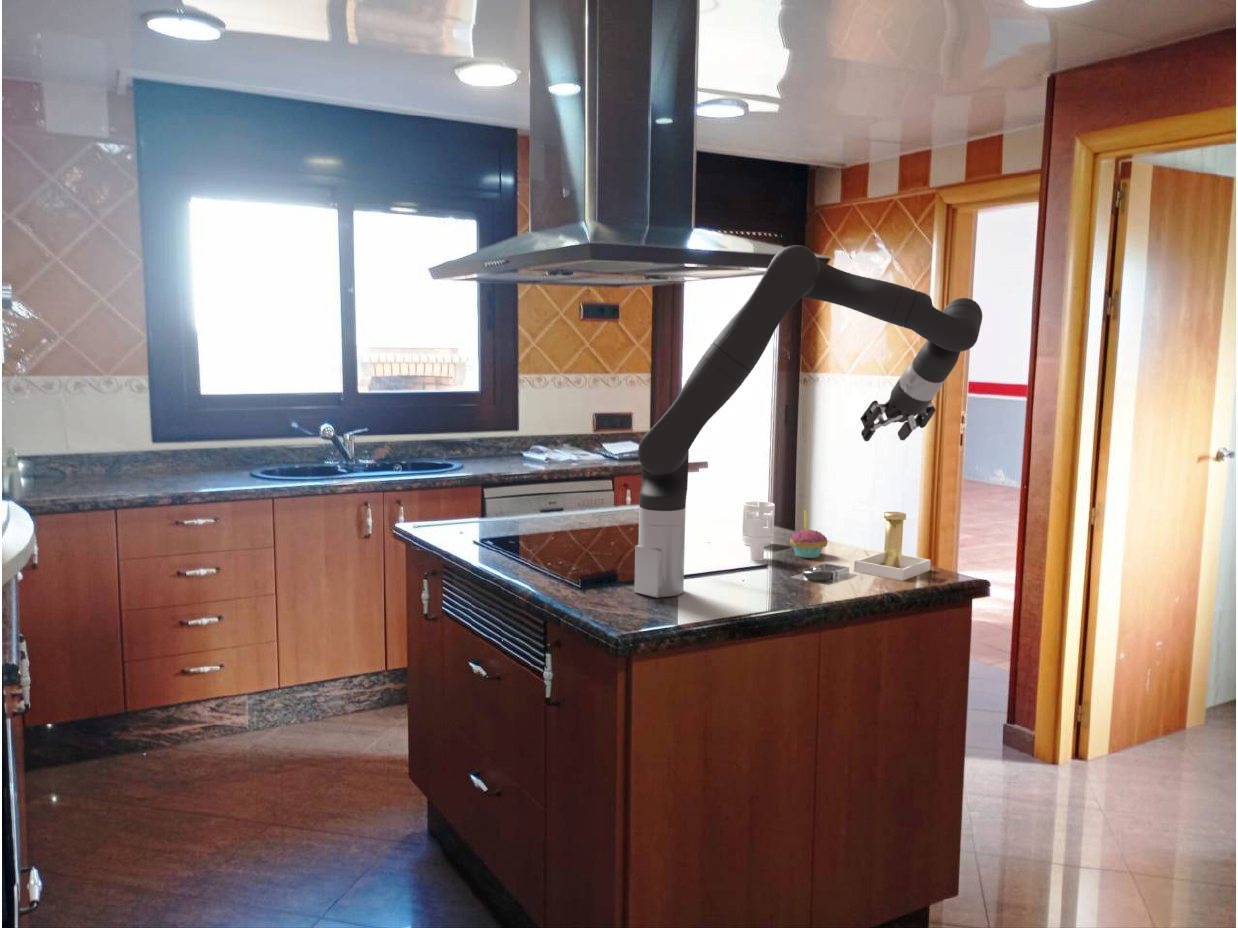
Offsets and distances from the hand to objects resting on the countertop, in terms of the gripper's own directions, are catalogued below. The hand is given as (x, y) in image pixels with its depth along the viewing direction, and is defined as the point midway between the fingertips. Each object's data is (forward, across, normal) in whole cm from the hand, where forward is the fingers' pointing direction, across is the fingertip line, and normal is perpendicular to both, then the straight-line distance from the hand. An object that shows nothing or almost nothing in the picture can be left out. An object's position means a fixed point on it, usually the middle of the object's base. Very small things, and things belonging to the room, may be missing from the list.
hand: (882, 437), depth 204 cm
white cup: (+50, +8, -7) cm, 51 cm away
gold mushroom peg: (+23, -6, +19) cm, 31 cm away
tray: (+24, -6, +19) cm, 32 cm away
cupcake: (+37, +4, +6) cm, 38 cm away
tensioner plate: (+24, +11, +20) cm, 33 cm away
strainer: (+37, +18, +7) cm, 41 cm away
